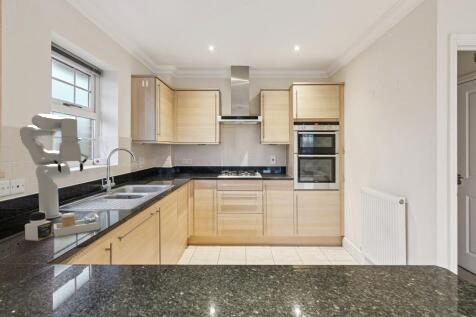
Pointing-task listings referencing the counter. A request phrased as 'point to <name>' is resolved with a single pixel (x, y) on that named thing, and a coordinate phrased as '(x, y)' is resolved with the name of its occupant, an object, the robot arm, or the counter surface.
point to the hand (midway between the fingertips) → (70, 171)
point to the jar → (68, 219)
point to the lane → (77, 227)
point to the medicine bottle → (38, 227)
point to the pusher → (88, 220)
